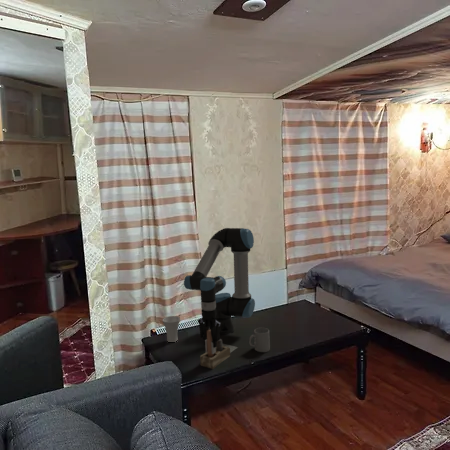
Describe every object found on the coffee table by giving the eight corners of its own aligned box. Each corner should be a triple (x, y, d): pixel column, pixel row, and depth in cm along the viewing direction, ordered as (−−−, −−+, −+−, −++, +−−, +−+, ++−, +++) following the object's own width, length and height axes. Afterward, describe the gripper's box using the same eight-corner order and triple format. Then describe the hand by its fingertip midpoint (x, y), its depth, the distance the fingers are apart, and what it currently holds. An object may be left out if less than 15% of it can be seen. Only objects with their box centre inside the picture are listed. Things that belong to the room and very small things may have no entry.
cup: (184, 338, 250) (182, 316, 248) (177, 345, 240) (176, 323, 238) (167, 336, 253) (166, 315, 251) (160, 343, 243) (159, 321, 241)
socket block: (200, 365, 214) (199, 347, 213) (218, 353, 227) (217, 335, 226) (213, 369, 210) (212, 350, 208) (230, 356, 223) (229, 338, 222)
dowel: (206, 360, 214) (205, 331, 212) (210, 358, 217) (209, 329, 215) (211, 362, 213) (210, 332, 211) (215, 359, 215) (214, 330, 213)
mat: (213, 351, 230) (213, 350, 230) (223, 344, 239) (223, 343, 239) (228, 354, 225) (228, 354, 225) (237, 347, 233) (237, 347, 233)
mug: (265, 344, 236) (264, 326, 234) (272, 350, 228) (272, 331, 226) (246, 349, 231) (245, 330, 230) (253, 355, 224) (252, 335, 222)
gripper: (191, 308, 213) (194, 351, 216) (217, 313, 204) (219, 358, 207) (200, 304, 219) (202, 346, 222) (226, 308, 210) (227, 352, 213)
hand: (210, 352), depth 214 cm, fingers closed on dowel, 3 cm apart
